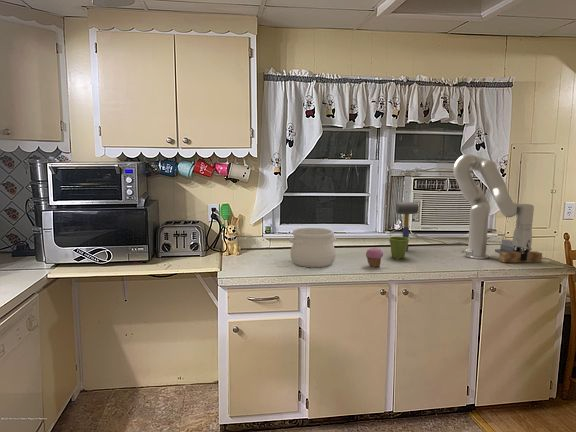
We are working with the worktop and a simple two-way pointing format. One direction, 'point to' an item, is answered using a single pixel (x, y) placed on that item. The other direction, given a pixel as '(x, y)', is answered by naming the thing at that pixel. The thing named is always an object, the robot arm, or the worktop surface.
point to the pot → (313, 247)
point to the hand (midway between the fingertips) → (520, 258)
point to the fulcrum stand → (506, 246)
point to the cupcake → (374, 256)
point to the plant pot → (398, 246)
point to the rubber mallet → (406, 214)
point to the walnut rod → (516, 256)
